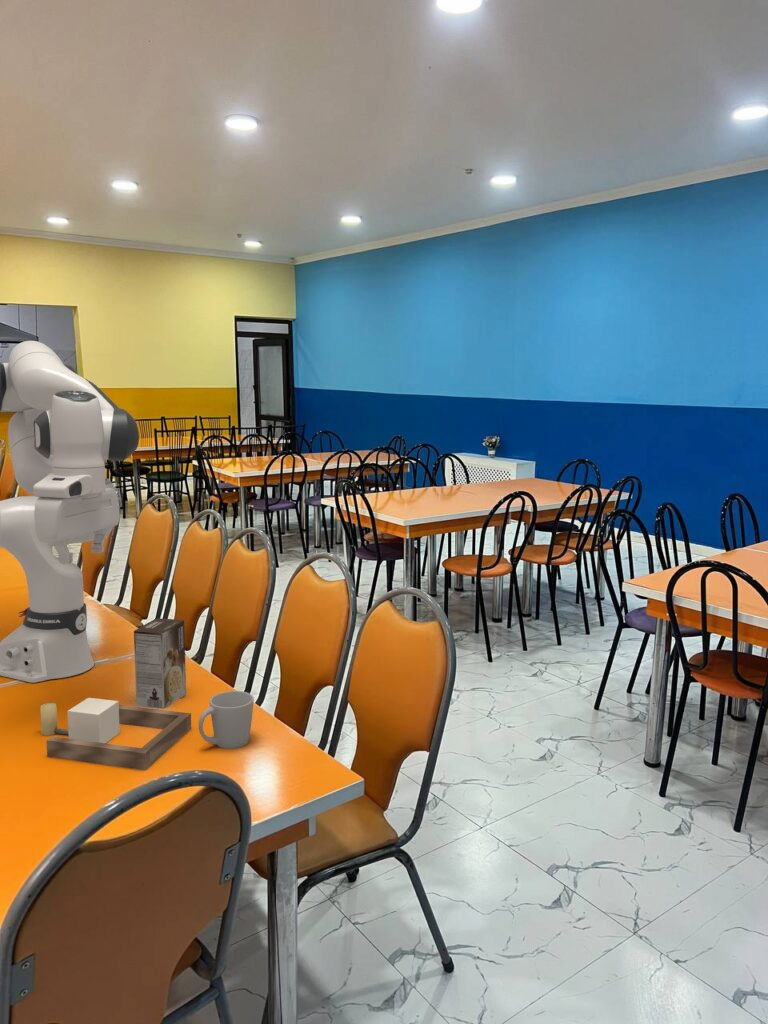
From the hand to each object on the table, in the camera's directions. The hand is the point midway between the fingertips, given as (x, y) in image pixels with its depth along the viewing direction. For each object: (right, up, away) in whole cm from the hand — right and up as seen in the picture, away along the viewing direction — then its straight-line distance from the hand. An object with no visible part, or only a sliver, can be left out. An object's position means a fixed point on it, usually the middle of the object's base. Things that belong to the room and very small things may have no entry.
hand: (82, 557), depth 135 cm
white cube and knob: (0, -31, -4) cm, 32 cm away
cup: (+27, -33, -5) cm, 43 cm away
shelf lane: (+9, -33, -6) cm, 34 cm away
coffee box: (+11, -30, +13) cm, 34 cm away
